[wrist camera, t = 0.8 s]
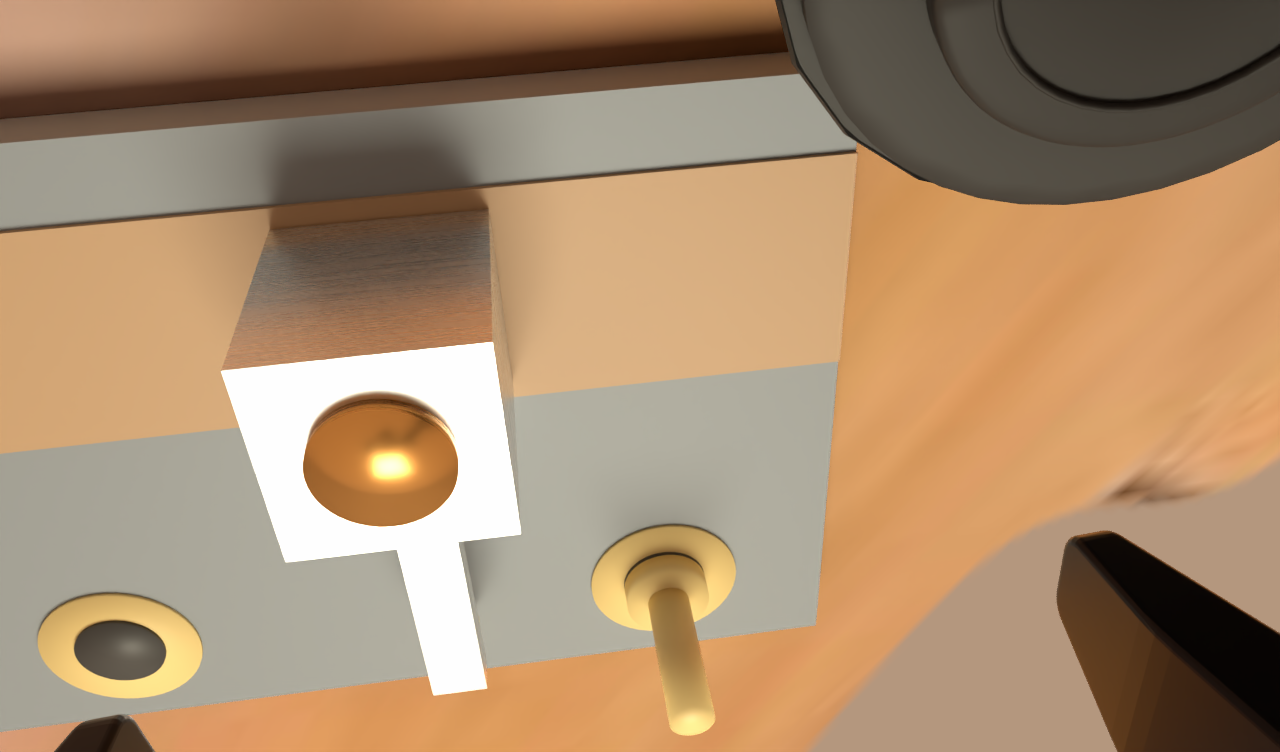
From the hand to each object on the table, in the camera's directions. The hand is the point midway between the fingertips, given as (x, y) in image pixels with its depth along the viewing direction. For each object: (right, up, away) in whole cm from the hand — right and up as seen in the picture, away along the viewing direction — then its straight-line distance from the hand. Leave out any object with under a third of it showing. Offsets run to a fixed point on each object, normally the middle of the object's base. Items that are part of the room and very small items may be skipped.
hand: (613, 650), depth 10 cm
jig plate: (-6, +2, +13) cm, 15 cm away
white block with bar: (-4, +1, +12) cm, 13 cm away
